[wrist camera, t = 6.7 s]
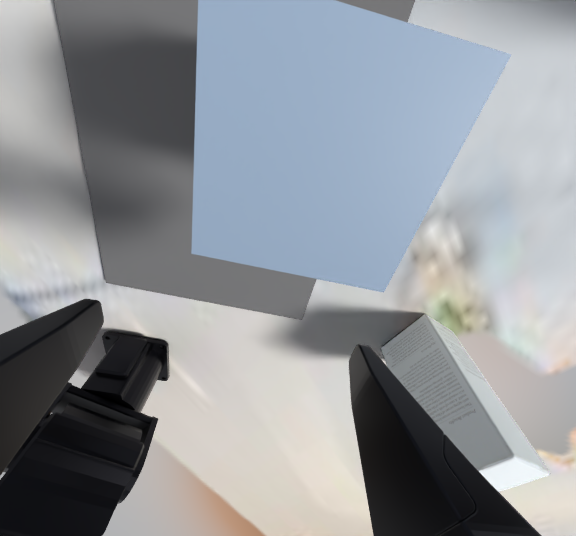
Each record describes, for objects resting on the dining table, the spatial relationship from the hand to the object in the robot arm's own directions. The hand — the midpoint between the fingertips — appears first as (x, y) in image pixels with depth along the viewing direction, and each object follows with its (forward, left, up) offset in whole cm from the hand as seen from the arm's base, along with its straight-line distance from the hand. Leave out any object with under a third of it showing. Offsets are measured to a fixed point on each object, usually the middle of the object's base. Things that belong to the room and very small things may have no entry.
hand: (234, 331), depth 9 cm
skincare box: (-10, -17, -13) cm, 24 cm away
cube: (+6, -1, -4) cm, 7 cm away
